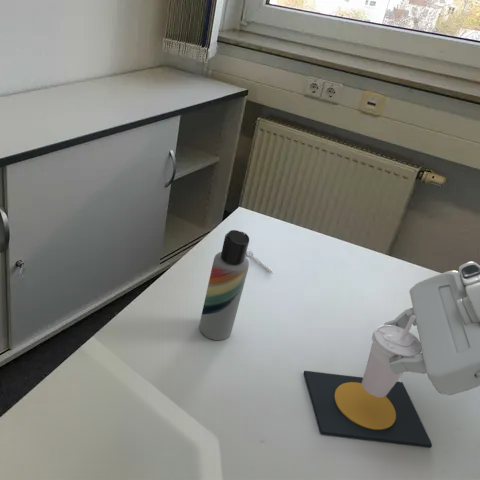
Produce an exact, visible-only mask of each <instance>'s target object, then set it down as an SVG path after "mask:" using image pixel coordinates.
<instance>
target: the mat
mask: <svg viewBox="0 0 480 480" xmlns="http://www.w3.org/2000/svg"><path fill="white" fill-rule="evenodd" d="M303 376H304V379H305V383H306V387H307V391H308V393H309V398H310V401H311V405H312V409H313V412H314V415H315V419H316V423H317V427H318V430H319V432H320V435H325V436H333V437H341V438H348V439H357V440H366V441H374V442H382V443H390V444H391V443H392V444H397V445H398V444H399V445H409V446H415V447H422V448H423V447H425V448H432V446H433V443H432V441H431V439H430V437H429V435H428V433H427V430H426V429H425V427H424V424H423V422H422V420H421V418H420V416H419V414H418V412H417V410H416V408H415V405H414V403H413V401H412V399H411V397H410V395H409V393H408V391H407V389H406V386H405V384H404V382H403V381H397V382H396V383H395V385H394V386H393V387H392V389H391V390H390V391H389V393H388V394H387V395H386V396H385V397H375V396H373V395H371V394H369V393H368V392H366V391H365V390H364V388H363V387H362V380H363V377H361V376H354V375H346V374H345V375H344V374H336V373H330V372H329V373H328V372H320V371H311V370H303Z"/></svg>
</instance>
